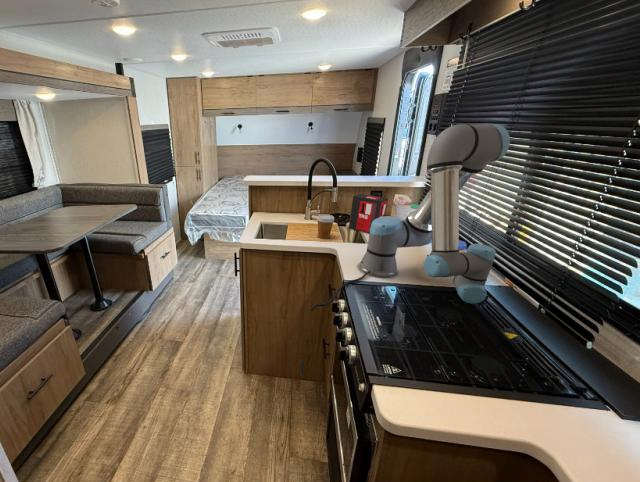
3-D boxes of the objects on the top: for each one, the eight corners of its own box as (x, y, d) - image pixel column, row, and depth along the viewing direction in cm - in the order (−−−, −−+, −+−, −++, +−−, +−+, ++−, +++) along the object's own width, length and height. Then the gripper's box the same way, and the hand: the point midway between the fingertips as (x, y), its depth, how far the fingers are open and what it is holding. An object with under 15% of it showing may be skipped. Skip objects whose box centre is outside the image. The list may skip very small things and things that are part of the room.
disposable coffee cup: (325, 241, 168) (328, 220, 163) (311, 236, 175) (313, 216, 170) (335, 237, 174) (338, 216, 169) (321, 232, 181) (323, 213, 176)
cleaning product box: (348, 228, 187) (353, 196, 179) (355, 225, 193) (360, 193, 185) (375, 235, 177) (381, 201, 169) (381, 231, 182) (388, 198, 174)
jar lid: (458, 252, 126) (460, 247, 126) (435, 244, 134) (436, 240, 133) (469, 247, 131) (471, 243, 130) (446, 240, 138) (447, 236, 138)
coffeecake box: (388, 224, 194) (394, 194, 186) (400, 225, 192) (407, 194, 184) (391, 232, 181) (398, 199, 173) (405, 233, 179) (412, 200, 171)
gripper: (422, 278, 121) (415, 257, 139) (499, 290, 113) (481, 266, 131) (427, 261, 118) (419, 242, 136) (506, 272, 109) (487, 250, 128)
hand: (449, 254), depth 133 cm, fingers open, 13 cm apart
